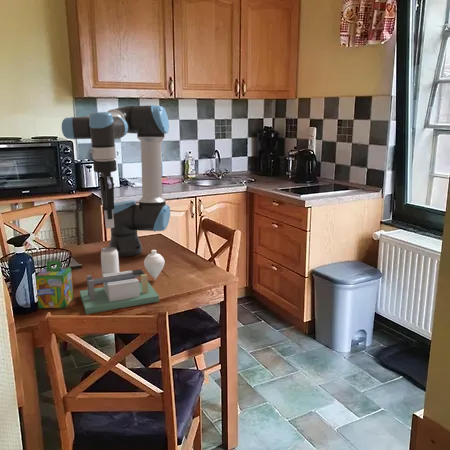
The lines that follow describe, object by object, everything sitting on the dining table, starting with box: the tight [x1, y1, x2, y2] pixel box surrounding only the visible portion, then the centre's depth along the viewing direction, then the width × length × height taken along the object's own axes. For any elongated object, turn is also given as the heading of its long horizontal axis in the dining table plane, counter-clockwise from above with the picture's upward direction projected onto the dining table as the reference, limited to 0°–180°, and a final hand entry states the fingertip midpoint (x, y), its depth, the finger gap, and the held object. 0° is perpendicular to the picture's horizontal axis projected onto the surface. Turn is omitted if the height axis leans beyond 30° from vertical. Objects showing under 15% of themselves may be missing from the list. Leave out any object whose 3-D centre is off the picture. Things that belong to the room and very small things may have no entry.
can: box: [100, 246, 120, 278], centre depth 179 cm, size 6×6×12 cm
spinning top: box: [143, 249, 165, 281], centre depth 177 cm, size 8×8×12 cm
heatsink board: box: [79, 270, 160, 315], centre depth 160 cm, size 16×24×9 cm, turn 113°
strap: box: [89, 268, 145, 285], centre depth 160 cm, size 3×18×2 cm, turn 113°
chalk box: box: [35, 260, 74, 309], centre depth 157 cm, size 9×9×15 cm
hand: (110, 227), depth 163 cm, fingers closed
